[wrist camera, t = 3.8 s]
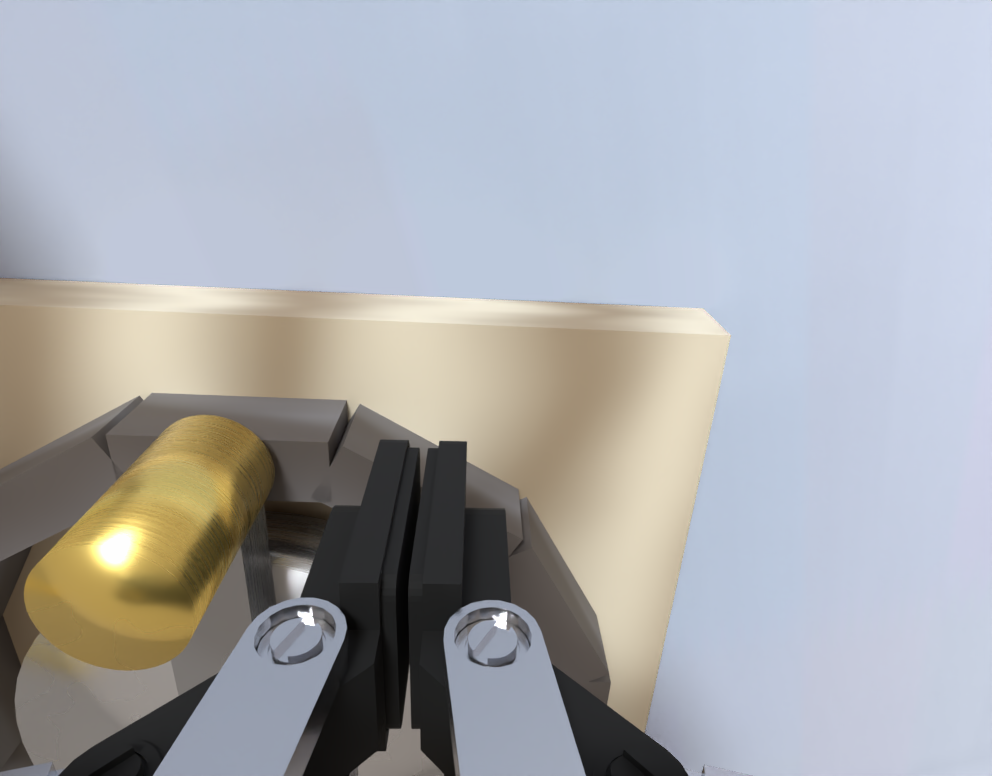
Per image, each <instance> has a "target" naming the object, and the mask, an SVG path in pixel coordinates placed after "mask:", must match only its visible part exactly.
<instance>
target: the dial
mask: <svg viewBox="0 0 992 776" xmlns="http://www.w3.org/2000/svg"><path fill="white" fill-rule="evenodd" d="M274 477H275V471H274V464H273V461H272V458H271V455H270V453H269V451H268V449H267V448H266V446H265V445H264V443H263V442H262V441H261V440H260V439H259V438H258V437H257V436H256V435H255V434H254V433H253V432H252V431H250V430H249V429H248V428H246V427H245V426H243V425H241V424H239V423H237V422H235V421H233V420H230V419H227V418H224V417H220V416H214V415H195V416H189V417H186V418H183V419H180V420H178V421H176V422H174V423H173V424H171V425H170V426H169V427H168V428H166V429H165V430H164V431H163V432H162V433H161V435H160V436H159V437H158V438H157V439H156V440H155V441H154V442H153V443H152V444H151V445H150V446H149V447H148V448H147V449H146V450H145V451H144V452H143V453H142V454H141V455H140V457H139V458H138V459H137V460H136V461H135V462H134V463H133V464H132V465H131V466H130V467H129V468H128V469H127V470H126V471H125V472H124V473H123V474H122V475H121V476H120V477H119V479H118V480H117V481H116V482H115V483H114V484H113V485H112V486H111V487H110V488H109V489H108V490H107V491H106V492H105V493H104V494H103V495H102V496H101V497H100V498H99V499H98V501H97V502H96V503H95V504H94V505H93V506H92V507H91V508H90V509H89V510H88V511H87V512H86V513H85V514H84V515H83V516H82V517H81V518H80V519H79V520H78V521H77V523H76V524H75V525H74V526H73V527H72V528H71V529H70V530H69V531H68V532H67V533H66V534H65V535H64V536H63V537H62V538H61V539H60V540H59V541H58V542H57V543H56V544H55V546H54V547H53V548H52V549H51V550H50V551H49V552H48V553H47V554H46V555H45V556H44V557H43V558H42V559H41V560H40V561H39V562H38V563H37V564H36V566H35V567H34V568H33V569H32V570H31V572H30V574H29V575H28V577H27V580H26V583H25V587H24V602H25V606H26V610H27V612H28V614H29V617H30V619H31V620H32V622H33V624H34V625H35V627H36V628H37V629H38V630H39V632H40V634H39V635H38V636H37V637H36V639H35V640H34V642H33V644H32V646H31V647H30V649H29V651H28V652H27V654H26V656H25V657H24V660H23V663H22V666H21V669H20V672H19V675H18V677H17V684H16V692H15V710H16V721H17V725H18V728H19V732H20V735H21V739H22V742H23V744H24V746H25V748H26V751H27V753H28V755H29V757H30V759H31V761H32V763H33V764H34V765H39V764H44V763H49V762H53V764H54V767H55V769H56V770H60V769H65V768H66V767H67V766H68V765H69V764H70V763H71V762H72V761H73V760H74V759H76V758H77V757H78V756H80V755H81V754H83V753H84V752H85V751H87V750H88V749H90V748H91V747H93V746H94V745H96V744H98V743H99V742H101V741H103V740H105V739H106V738H108V737H110V736H111V735H113V734H115V733H116V732H118V731H120V730H122V729H123V728H125V727H127V726H128V725H130V724H132V723H133V722H135V721H137V720H139V719H140V718H142V717H144V716H145V715H147V714H149V713H151V712H152V711H154V710H156V709H157V708H159V707H161V706H162V705H164V704H166V703H168V702H169V701H171V700H173V699H174V698H176V697H178V696H179V695H181V694H183V693H185V692H186V691H188V690H190V689H191V688H193V687H195V686H197V685H198V684H200V683H202V682H203V681H205V680H207V679H208V678H210V677H212V676H214V675H215V674H217V673H219V671H220V670H221V668H222V667H223V665H224V664H225V662H226V661H227V659H228V657H229V656H230V654H231V653H232V651H233V650H234V648H235V646H236V645H237V643H238V642H239V640H240V639H241V637H242V635H243V634H244V632H245V631H246V629H247V628H248V626H249V625H250V624H251V623H252V622H253V621H254V619H255V618H256V617H257V616H258V615H260V614H261V613H262V612H264V611H265V610H267V609H268V608H269V607H271V606H274V605H276V604H278V603H281V602H283V601H286V600H291V599H296V598H300V596H301V593H302V590H303V588H304V585H305V582H306V579H307V577H308V574H309V571H310V568H311V565H312V563H313V560H314V557H315V554H316V552H317V549H318V546H319V543H320V540H321V538H322V535H323V532H324V529H325V527H326V524H327V521H328V520H325V519H321V518H316V517H310V516H305V515H300V514H295V513H287V512H275V511H265V508H264V502H265V501H266V499H267V497H268V495H269V493H270V491H271V489H272V486H273V483H274ZM358 776H443V773H442V772H441V771H440V769H439V768H438V767H437V766H436V765H435V764H434V763H433V762H432V761H431V760H430V759H429V758H428V757H427V756H426V755H425V754H424V753H423V752H422V751H421V745H420V729H412V728H411V698H410V665H409V673H408V681H407V690H406V698H405V706H404V714H403V721H402V727H401V729H389V735H388V742H387V749H386V751H377V752H375V753H374V754H373V755H372V756H371V757H369V758H368V759H367V760H366V761H364V762H363V763H362V764H361V765H359V766H358Z"/></svg>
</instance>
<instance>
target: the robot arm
mask: <svg viewBox="0 0 992 776" xmlns="http://www.w3.org/2000/svg"><path fill="white" fill-rule="evenodd" d="M466 469H467V441H439V447H438V448H428V451H427V458H426V465H425V472H424V478H423V485H422V492H421V482H420V448H415V447H410V443H409V440H386V439H381V440H380V442H379V445H378V448H377V451H376V455H375V458H374V462H373V465H372V469H371V472H370V475H369V479H368V482H367V486H366V489H365V493H364V496H363V499H362V503H361V506H353V505H335V506H334V507H333V508H332V510H331V513H330V515H329V518H328V521H327V524H326V527H325V529H324V532H323V535H322V538H321V540H320V543H319V546H318V549H317V552H316V554H315V557H314V560H313V563H312V565H311V568H310V571H309V574H308V577H307V579H306V582H305V585H304V588H303V590H302V593H301V596H300V598H296V599H291V600H286V601H283V602H281V603H278V604H276V605H274V606H271V607H269V608H268V609H267V610H265V611H264V612H262V613H261V614H260V615H258V616H257V617H256V618H255V619H254V621H253V622H252V623H251V624H250V625H249V626H248V628H247V629H246V631H245V632H244V634H243V635H242V637H241V639H240V640H239V642H238V643H237V645H236V646H235V648H234V650H233V651H232V653H231V654H230V656H229V657H228V659H227V661H226V662H225V664H224V665H223V667H222V668H221V670H220V671H219V673H217V674H215V675H214V676H212V677H210V678H208V679H207V680H205V681H203V682H202V683H200V684H198V685H197V686H195V687H193V688H191V689H190V690H188V691H186V692H185V693H183V694H181V695H179V696H178V697H176V698H174V699H173V700H171V701H169V702H168V703H166V704H164V705H162V706H161V707H159V708H157V709H156V710H154V711H152V712H151V713H149V714H147V715H145V716H144V717H142V718H140V719H139V720H137V721H135V722H133V723H132V724H130V725H128V726H127V727H125V728H123V729H122V730H120V731H118V732H116V733H115V734H113V735H111V736H110V737H108V738H106V739H105V740H103V741H101V742H99V743H98V744H96V745H94V746H93V747H91V748H90V749H88V750H87V751H85V752H84V753H83V754H81V755H80V756H78V757H77V758H76V759H74V760H73V761H72V762H71V763H70V764H69V765H68V766H67V767H66V768H65V769H60V770H56V769H55V767H54V764H53V762H49V763H44V764H39V765H34V766H29V767H23V768H18V769H13V770H8V771H3V772H0V776H358V766H359V765H361V764H362V763H363V762H364V761H366V760H367V759H368V758H369V757H371V756H372V755H373V754H374V753H375V752H377V751H386V749H387V742H388V735H389V729H401V727H402V721H403V714H404V706H405V698H406V690H407V681H408V673H409V665H410V698H411V728H412V729H420V745H421V751H422V752H423V753H424V754H425V755H426V756H427V757H428V758H429V759H430V760H431V761H432V762H433V763H434V764H435V765H436V766H437V767H438V768H439V769H440V771H441V772H442V773H443V776H752V775H748V774H743V773H739V772H735V771H730V770H726V769H721V768H717V767H712V766H708V765H704V767H703V771H702V773H701V772H696V771H692V770H688V769H684V768H683V766H682V764H681V763H680V762H679V761H678V760H677V759H676V758H675V757H674V756H673V755H672V754H671V753H670V752H668V751H667V750H666V749H665V748H664V747H662V746H661V745H660V744H658V743H657V742H656V741H654V740H653V739H652V738H650V737H649V736H648V735H646V734H645V733H644V732H642V731H641V730H640V729H638V728H637V727H636V726H634V725H633V724H632V723H630V722H629V721H628V720H626V719H625V718H624V717H622V716H621V715H620V714H618V713H617V712H616V711H614V710H613V709H612V708H610V707H609V706H608V705H606V704H605V703H604V702H602V701H601V700H600V699H598V698H597V697H596V696H594V695H593V694H592V693H590V692H589V691H588V690H586V689H585V688H584V687H582V686H581V685H580V684H578V683H577V682H576V681H574V680H573V679H572V678H570V677H569V676H568V675H566V674H565V673H564V672H562V671H561V670H560V669H558V668H557V667H555V666H554V665H553V664H551V661H550V658H549V655H548V651H547V648H546V645H545V642H544V638H543V635H542V632H541V629H540V628H539V626H538V624H537V622H536V620H535V619H534V618H533V617H532V616H531V615H530V614H529V613H528V612H527V611H526V610H524V609H522V608H520V607H518V606H517V605H515V604H512V603H511V591H510V575H509V558H508V542H507V525H506V511H505V508H466Z"/></svg>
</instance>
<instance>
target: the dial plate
mask: <svg viewBox="0 0 992 776" xmlns="http://www.w3.org/2000/svg"><path fill="white" fill-rule="evenodd" d="M730 337H731V335H730V334H729V333H728V332H727V331H726V330H725V329H724V328H723V327H722V326H721V325H720V324H719V323H718V322H717V321H716V320H714V319H713V318H712V317H711V316H710V315H709V314H708V313H707V312H706V311H705V310H704V309H702V308H679V307H656V306H633V305H610V304H587V303H564V302H541V301H518V300H495V299H472V298H449V297H426V296H403V295H380V294H357V293H334V292H311V291H288V290H265V289H242V288H219V287H196V286H173V285H150V284H127V283H104V282H81V281H58V280H35V279H12V278H0V772H3V771H8V770H13V769H18V768H23V767H29V766H34V764H33V763H32V761H31V759H30V757H29V755H28V753H27V751H26V748H25V746H24V744H23V742H22V739H21V735H20V732H19V728H18V725H17V721H16V710H15V692H16V684H17V677H18V675H19V672H20V669H21V666H22V663H23V660H24V657H25V656H26V654H27V652H28V651H29V649H30V647H31V646H32V644H33V642H34V640H35V639H36V637H37V636H38V635H39V634H40V632H39V630H38V629H37V628H36V627H35V625H34V624H33V622H32V620H31V619H30V617H29V614H28V612H27V610H26V606H25V602H24V587H25V583H26V580H27V577H28V575H29V574H30V572H31V570H32V569H33V568H34V567H35V566H36V564H37V563H38V562H39V561H40V560H41V559H42V558H43V557H44V556H45V555H46V554H47V553H48V552H49V551H50V550H51V549H52V548H53V547H54V546H55V544H56V543H57V542H58V541H59V540H60V539H61V538H62V537H63V536H64V535H65V534H66V533H67V532H68V531H69V530H70V529H71V528H72V527H73V526H74V525H75V524H76V523H77V521H78V520H79V519H80V518H81V517H82V516H83V515H84V514H85V513H86V512H87V511H88V510H89V509H90V508H91V507H92V506H93V505H94V504H95V503H96V502H97V501H98V499H99V498H100V497H101V496H102V495H103V494H104V493H105V492H106V491H107V490H108V489H109V488H110V487H111V486H112V485H113V484H114V483H115V482H116V481H117V480H118V479H119V477H120V476H121V475H122V474H123V473H124V472H125V471H126V470H127V469H128V468H129V467H130V466H131V465H132V464H133V463H134V462H135V461H136V460H137V459H138V458H139V457H140V455H141V454H142V453H143V452H144V451H145V450H146V449H147V448H148V447H149V446H150V445H151V444H152V443H153V442H154V441H155V440H156V439H157V438H158V437H159V436H160V435H161V433H162V432H163V431H164V430H165V429H166V428H168V427H169V426H170V425H171V424H173V423H174V422H176V421H178V420H180V419H183V418H186V417H189V416H195V415H214V416H220V417H224V418H227V419H230V420H233V421H235V422H237V423H239V424H241V425H243V426H245V427H246V428H248V429H249V430H250V431H252V432H253V433H254V434H255V435H256V436H257V437H258V438H259V439H260V440H261V441H262V442H263V443H264V445H265V446H266V448H267V449H268V451H269V453H270V455H271V458H272V461H273V464H274V471H275V477H274V483H273V486H272V489H271V491H270V493H269V495H268V497H267V499H266V501H265V502H264V508H265V511H275V512H287V513H295V514H300V515H305V516H310V517H316V518H321V519H325V520H328V518H329V515H330V513H331V510H332V508H333V507H334V506H335V505H353V506H361V503H362V499H363V496H364V493H365V489H366V486H367V482H368V479H369V475H370V472H371V469H372V465H373V462H374V458H375V455H376V451H377V448H378V445H379V442H380V440H381V439H386V440H409V443H410V447H415V448H420V482H421V492H422V485H423V478H424V472H425V465H426V458H427V451H428V448H438V447H439V441H467V469H466V508H505V511H506V525H507V542H508V558H509V575H510V591H511V603H512V604H515V605H517V606H518V607H520V608H522V609H524V610H526V611H527V612H528V613H529V614H530V615H531V616H532V617H533V618H534V619H535V620H536V622H537V624H538V626H539V628H540V629H541V632H542V635H543V638H544V642H545V645H546V648H547V651H548V655H549V658H550V661H551V664H553V665H554V666H555V667H557V668H558V669H560V670H561V671H562V672H564V673H565V674H566V675H568V676H569V677H570V678H572V679H573V680H574V681H576V682H577V683H578V684H580V685H581V686H582V687H584V688H585V689H586V690H588V691H589V692H590V693H592V694H593V695H594V696H596V697H597V698H598V699H600V700H601V701H602V702H604V703H605V704H606V705H608V706H609V707H610V708H612V709H613V710H614V711H616V712H617V713H618V714H620V715H621V716H622V717H624V718H625V719H626V720H628V721H629V722H630V723H632V724H633V725H634V726H636V727H637V728H638V729H640V730H641V731H642V732H644V733H645V729H646V724H647V719H648V715H649V710H650V705H651V701H652V696H653V692H654V687H655V682H656V678H657V673H658V669H659V664H660V659H661V655H662V650H663V646H664V641H665V636H666V632H667V627H668V623H669V618H670V613H671V609H672V604H673V600H674V595H675V590H676V586H677V581H678V576H679V572H680V567H681V563H682V558H683V553H684V549H685V544H686V540H687V535H688V530H689V526H690V521H691V517H692V512H693V507H694V503H695V498H696V494H697V489H698V484H699V480H700V475H701V471H702V466H703V461H704V457H705V452H706V447H707V443H708V438H709V434H710V429H711V424H712V420H713V415H714V411H715V406H716V401H717V397H718V392H719V388H720V383H721V378H722V374H723V369H724V365H725V360H726V355H727V351H728V346H729V341H730Z"/></svg>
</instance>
